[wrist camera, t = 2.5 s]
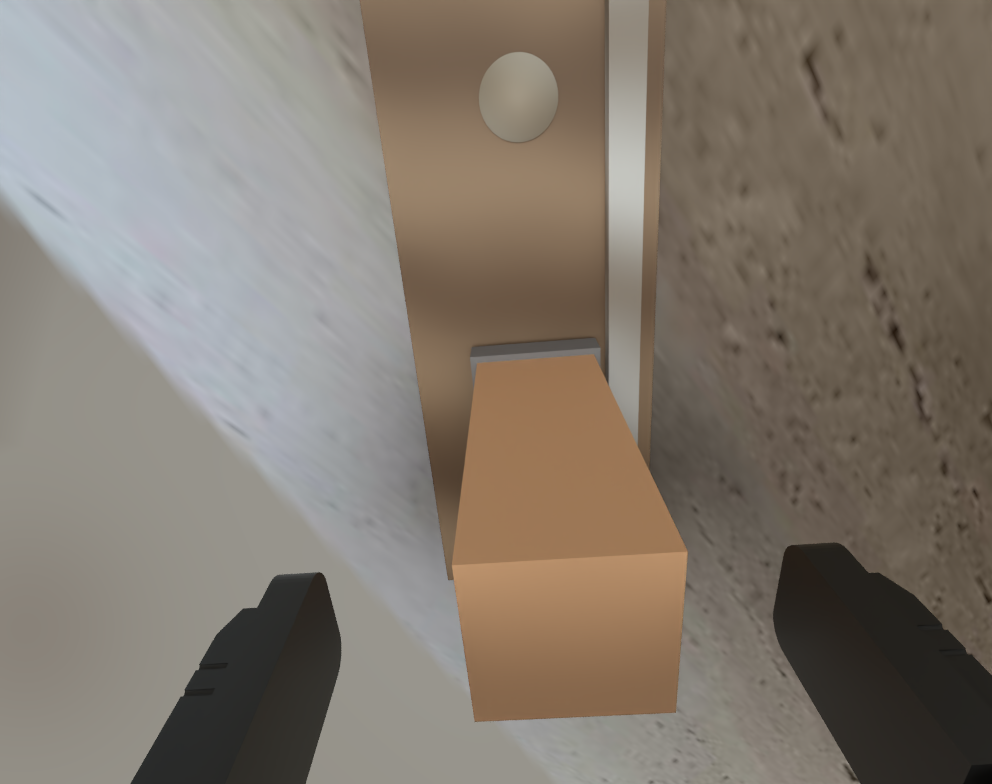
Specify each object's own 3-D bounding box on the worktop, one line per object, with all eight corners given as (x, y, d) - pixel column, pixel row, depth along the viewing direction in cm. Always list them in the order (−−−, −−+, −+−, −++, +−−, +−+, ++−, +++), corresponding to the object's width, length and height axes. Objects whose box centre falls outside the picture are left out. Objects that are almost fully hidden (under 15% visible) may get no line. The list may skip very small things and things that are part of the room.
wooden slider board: (342, -190, 14) (217, -463, 8) (658, -228, 13) (784, -545, 7) (451, 555, 23) (433, 692, 17) (637, 544, 23) (685, 679, 17)
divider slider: (471, 347, 17) (437, 555, 8) (594, 337, 17) (702, 540, 8) (482, 453, 19) (464, 729, 10) (596, 446, 19) (686, 719, 10)
